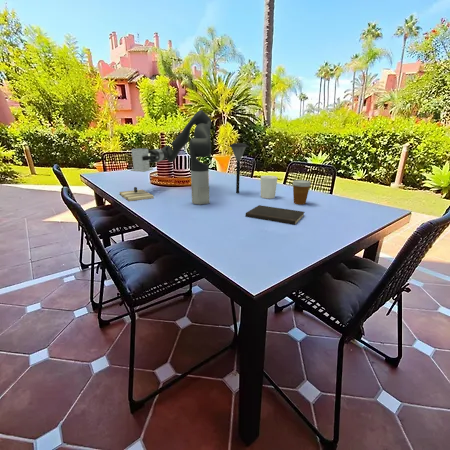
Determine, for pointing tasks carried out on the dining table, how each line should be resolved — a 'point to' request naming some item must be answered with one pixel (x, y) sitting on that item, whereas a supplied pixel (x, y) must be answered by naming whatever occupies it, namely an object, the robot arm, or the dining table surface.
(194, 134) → the robot arm
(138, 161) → the sleeve
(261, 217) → the hardcover book
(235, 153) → the solar garden light
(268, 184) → the white paper cup
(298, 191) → the disposable coffee cup
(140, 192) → the base plate
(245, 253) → the dining table surface
